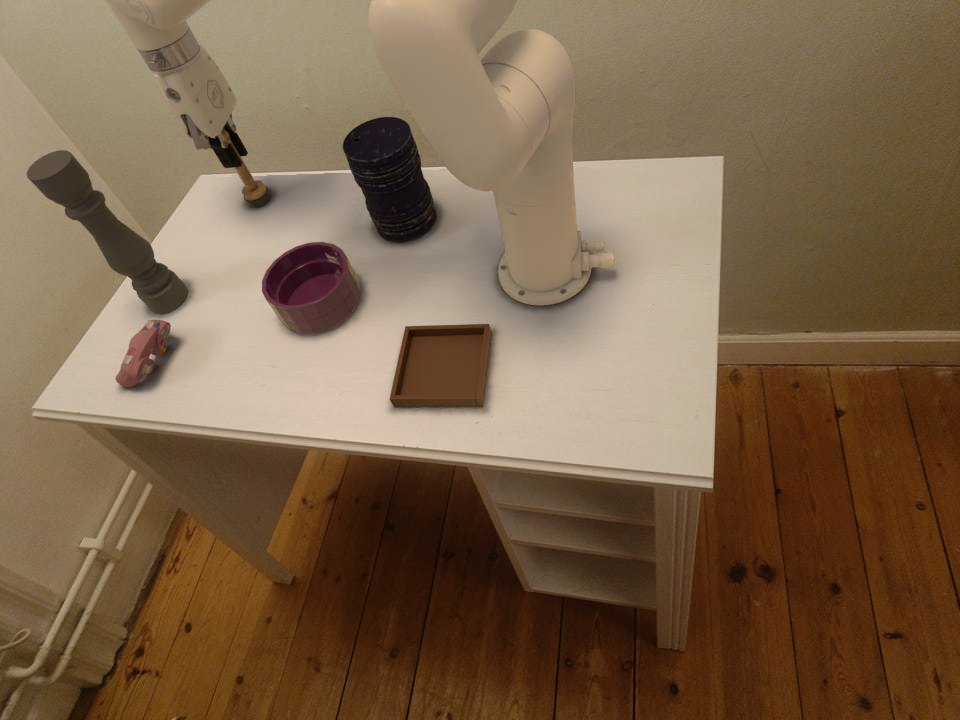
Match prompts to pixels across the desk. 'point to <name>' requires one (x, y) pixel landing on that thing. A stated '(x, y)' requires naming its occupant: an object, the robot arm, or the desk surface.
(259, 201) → the brush
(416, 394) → the tray
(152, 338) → the pink toy
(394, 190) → the storage jar
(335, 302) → the bowl
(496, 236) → the desk surface
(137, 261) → the candle holder
